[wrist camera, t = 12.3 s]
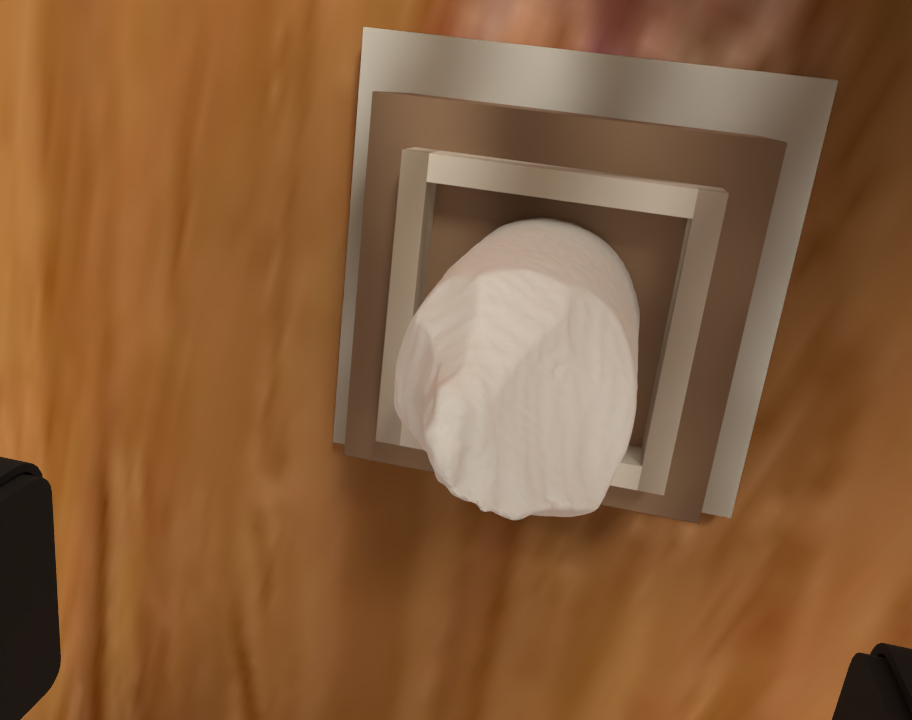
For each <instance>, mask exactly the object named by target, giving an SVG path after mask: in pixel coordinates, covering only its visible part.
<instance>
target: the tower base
mask: <svg viewBox="0 0 912 720" xmlns="http://www.w3.org/2000/svg"><path fill="white" fill-rule="evenodd" d="M837 84H838V80H832V79H823V78H815V77H806V76H797V75H788V74H779V73H770V72H761V71H752V70H743V69H734V68H725V67H717V66H708V65H699V64H690V63H681V62H672V61H663V60H654V59H645V58H636V57H627V56H619V55H610V54H601V53H592V52H583V51H574V50H565V49H556V48H547V47H538V46H529V45H521V44H512V43H503V42H494V41H485V40H476V39H467V38H458V37H449V36H440V35H431V34H422V33H414V32H405V31H396V30H387V29H378V28H369V27H363V39H362V53H361V66H360V80H359V93H358V107H357V120H356V134H355V148H354V161H353V175H352V188H351V202H350V215H349V229H348V242H347V256H346V270H345V283H344V297H343V310H342V324H341V337H340V351H339V364H338V378H337V391H336V405H335V419H334V432H333V442H334V443H339V444H344V445H345V447H344V455H345V456H351V457H356V458H361V459H366V460H371V461H377V462H382V463H387V464H392V465H397V466H402V467H408V468H413V469H418V470H423V471H428V472H434V469H433V467H432V465H431V463H430V461H429V458H428V454H427V452H426V451H425V450H423V448H422V447H421V445H420V443H419V442H418V440H417V439H416V438H415V437H414V436H413V434H412V433H411V432H410V431H409V430H408V428H407V427H406V426H405V425H404V424H403V423H402V422H401V420H400V418H399V417H398V415H397V412H396V410H395V406H394V381H395V370H396V362H397V358H398V354H399V350H400V347H401V344H402V340H403V337H404V335H405V333H406V330H407V327H408V325H409V323H410V321H411V319H412V318H413V316H414V315H415V313H416V312H417V310H418V309H419V307H420V306H421V304H422V303H423V302H424V300H425V299H426V297H427V296H428V295H429V293H430V292H431V291H432V290H433V288H434V287H435V286H436V285H437V283H438V282H439V281H440V280H441V279H442V278H443V276H444V274H445V273H446V272H447V270H448V269H449V268H450V267H451V266H453V265H454V264H455V263H456V262H457V261H458V260H459V259H460V258H461V257H463V256H464V255H465V254H466V253H468V252H469V251H470V250H471V249H472V248H473V247H474V246H475V245H476V244H478V243H479V242H481V241H482V240H483V239H484V238H485V237H486V236H488V235H489V234H490V233H492V232H493V231H494V230H496V229H497V228H499V227H501V226H503V225H506V224H509V223H512V222H515V221H518V220H525V219H534V218H551V219H557V220H561V221H565V222H570V223H574V224H576V225H579V226H581V227H583V228H585V229H587V230H589V231H591V232H592V233H594V234H596V235H597V236H598V237H600V238H601V239H603V240H604V241H605V242H606V243H607V244H609V246H610V247H611V248H612V249H613V250H614V251H615V252H616V253H617V254H618V256H619V257H620V259H621V260H622V261H623V263H624V265H625V267H626V269H627V270H628V272H629V274H630V277H631V280H632V283H633V286H634V289H635V292H636V295H637V300H638V305H639V310H640V325H639V336H638V373H637V383H638V389H637V407H636V414H635V419H634V425H633V429H632V434H631V438H630V441H629V445H628V448H627V451H626V453H625V455H624V457H623V459H622V461H621V462H620V465H619V467H618V469H617V471H616V473H615V475H614V477H613V480H612V482H611V485H610V486H609V488H608V490H607V492H606V495H605V497H604V499H603V500H602V502H601V504H600V505H605V506H610V507H615V508H620V509H625V510H631V511H636V512H641V513H646V514H651V515H656V516H662V517H667V518H672V519H677V520H682V521H688V522H693V523H698V524H699V521H700V517H701V513H706V514H711V515H716V516H722V517H727V518H731V516H732V512H733V508H734V504H735V500H736V496H737V492H738V488H739V484H740V479H741V475H742V471H743V467H744V463H745V459H746V455H747V451H748V447H749V443H750V439H751V435H752V431H753V427H754V422H755V418H756V414H757V410H758V406H759V402H760V398H761V394H762V390H763V386H764V382H765V378H766V374H767V370H768V365H769V361H770V357H771V353H772V349H773V345H774V341H775V337H776V333H777V329H778V325H779V321H780V317H781V313H782V308H783V304H784V300H785V296H786V292H787V288H788V284H789V280H790V276H791V272H792V268H793V264H794V260H795V255H796V251H797V247H798V243H799V239H800V235H801V231H802V227H803V223H804V219H805V215H806V211H807V207H808V203H809V198H810V194H811V190H812V186H813V182H814V178H815V174H816V170H817V166H818V162H819V158H820V154H821V150H822V146H823V141H824V137H825V133H826V129H827V125H828V121H829V117H830V113H831V109H832V105H833V101H834V97H835V93H836V89H837ZM434 473H435V472H434Z"/></svg>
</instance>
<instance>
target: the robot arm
mask: <svg viewBox="0 0 912 720" xmlns="http://www.w3.org/2000/svg"><path fill="white" fill-rule="evenodd" d="M60 662H61V653H60V635H59V616H58V598H57V579H56V560H55V542H54V523H53V504H52V490H51V486H50V484H49V482H48V481H47V480H46V479H44V478H43V477H42V473H41V471H40V470H39V468H38V467H37V466H35V465H34V464H32V463H27V462H22V461H18V460H13V459H8V458H3V457H0V720H20V719H21V718H22V717H23V716H24V715H25V714H26V713H27V712H28V711H29V710H30V709H31V708H32V707H33V706H34V705H35V704H36V703H37V702H38V701H39V700H40V699H41V698H42V697H43V696H44V695H45V694H46V693H47V692H48V690H49V689H50V688H51V686H52V685H53V683H54V681H55V679H56V677H57V675H58V672H59V668H60ZM832 720H912V649H909V648H904V647H899V646H895V645H890V644H885V643H880V644H877V645H876V646H875V647H874V649H873V650H872V652H871V654H870V655H869V654H864V653H857V654H855V656H854V657H853V658H852V661H851V663H850V665H849V669H848V672H847V675H846V678H845V681H844V684H843V687H842V690H841V693H840V696H839V699H838V703H837V706H836V709H835V712H834V715H833V718H832Z"/></svg>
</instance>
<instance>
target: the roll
mask: <svg viewBox="0 0 912 720" xmlns="http://www.w3.org/2000/svg"><path fill="white" fill-rule="evenodd" d="M639 325H640V310H639V305H638V300H637V295H636V292H635V289H634V286H633V283H632V280H631V277H630V274H629V272H628V270H627V269H626V267H625V265H624V263H623V261H622V260H621V259H620V257H619V256H618V254H617V253H616V252H615V251H614V250H613V249H612V248H611V247H610V246H609V244H607V243H606V242H605V241H604V240H603V239H601V238H600V237H598V236H597V235H596V234H594V233H592V232H591V231H589V230H587V229H585V228H583V227H581V226H579V225H576V224H574V223H570V222H565V221H561V220H557V219H551V218H534V219H525V220H518V221H515V222H512V223H509V224H506V225H503V226H501V227H499V228H497V229H496V230H494V231H493V232H492V233H490V234H489V235H488V236H486V237H485V238H484V239H483V240H482V241H481V242H479V243H478V244H476V245H475V246H474V247H473V248H472V249H471V250H470V251H469V252H468V253H466V254H465V255H464V256H463V257H461V258H460V259H459V260H458V261H457V262H456V263H455V264H454V265H453V266H451V267H450V268H449V269H448V270H447V272H446V273H445V274H444V276H443V278H442V279H441V280H440V281H439V282H438V283H437V285H436V286H435V287H434V288H433V290H432V291H431V292H430V293H429V295H428V296H427V297H426V299H425V300H424V302H423V303H422V304H421V306H420V307H419V309H418V310H417V312H416V313H415V315H414V316H413V318H412V319H411V321H410V323H409V325H408V327H407V330H406V333H405V335H404V337H403V340H402V344H401V347H400V350H399V354H398V358H397V362H396V370H395V381H394V406H395V410H396V412H397V415H398V417H399V418H400V420H401V422H402V423H403V424H404V425H405V426H406V427H407V428H408V430H409V431H410V432H411V433H412V434H413V436H414V437H415V438H416V439H417V440H418V442H419V443H420V445H421V447H422V448H423V450H425V451H426V452H427V454H428V458H429V461H430V463H431V465H432V467H433V469H434V472H435V476H436V479H437V480H438V482H440V483H441V484H443V485H445V486H446V487H447V489H448V490H449V491H450V493H451V494H452V495H454V496H456V497H458V498H460V499H462V500H464V501H468V502H472V503H475V504H477V506H478V507H479V508H480V510H481V511H484V512H488V511H492V512H494V513H496V514H497V515H500V516H502V517H504V518H508V519H510V520H520V519H523V518H525V517H527V516H529V515H537V516H556V517H575V516H580V515H585V514H588V513H591V512H594V511H595V510H597V509H598V508H599V506H600V504H601V502H602V500H603V499H604V497H605V495H606V492H607V490H608V488H609V486H610V485H611V482H612V480H613V477H614V475H615V473H616V471H617V469H618V467H619V465H620V462H621V461H622V459H623V457H624V455H625V453H626V451H627V448H628V445H629V441H630V438H631V434H632V429H633V425H634V419H635V414H636V407H637V389H638V383H637V373H638V336H639Z"/></svg>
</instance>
